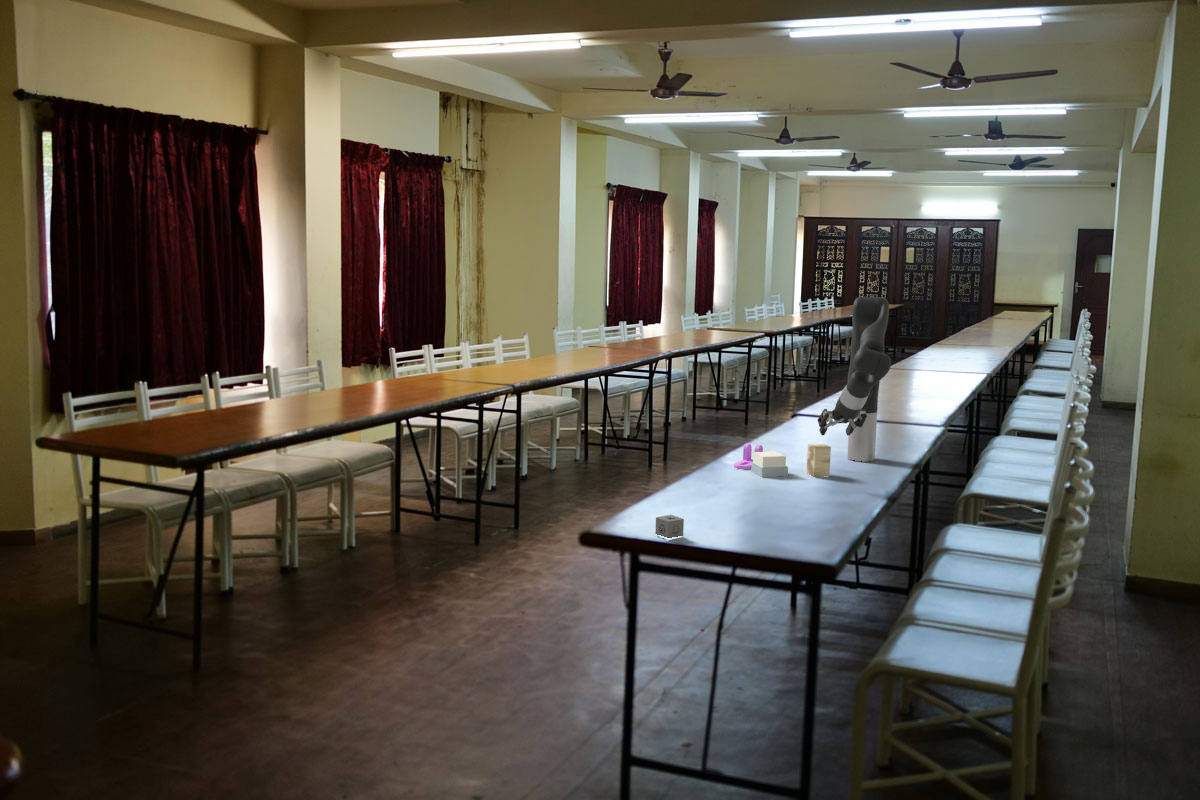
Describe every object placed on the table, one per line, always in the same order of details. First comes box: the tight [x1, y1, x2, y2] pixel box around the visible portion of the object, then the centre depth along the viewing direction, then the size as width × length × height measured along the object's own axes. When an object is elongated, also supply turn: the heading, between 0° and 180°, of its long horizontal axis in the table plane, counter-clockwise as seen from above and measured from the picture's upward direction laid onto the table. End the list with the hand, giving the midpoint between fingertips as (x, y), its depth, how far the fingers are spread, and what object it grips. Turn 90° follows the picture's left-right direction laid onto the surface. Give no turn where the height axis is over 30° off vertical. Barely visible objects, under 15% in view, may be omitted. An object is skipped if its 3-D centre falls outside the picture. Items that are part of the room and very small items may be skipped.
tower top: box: [752, 450, 787, 468], centre depth 343 cm, size 8×8×4 cm
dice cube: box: [654, 514, 685, 538], centre depth 266 cm, size 5×5×5 cm
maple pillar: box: [806, 443, 832, 478], centre depth 342 cm, size 6×6×10 cm
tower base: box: [750, 462, 789, 478], centre depth 344 cm, size 9×9×4 cm
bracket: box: [733, 443, 764, 470], centre depth 355 cm, size 13×6×7 cm, turn 148°
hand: (834, 433), depth 328 cm, fingers open, 8 cm apart
